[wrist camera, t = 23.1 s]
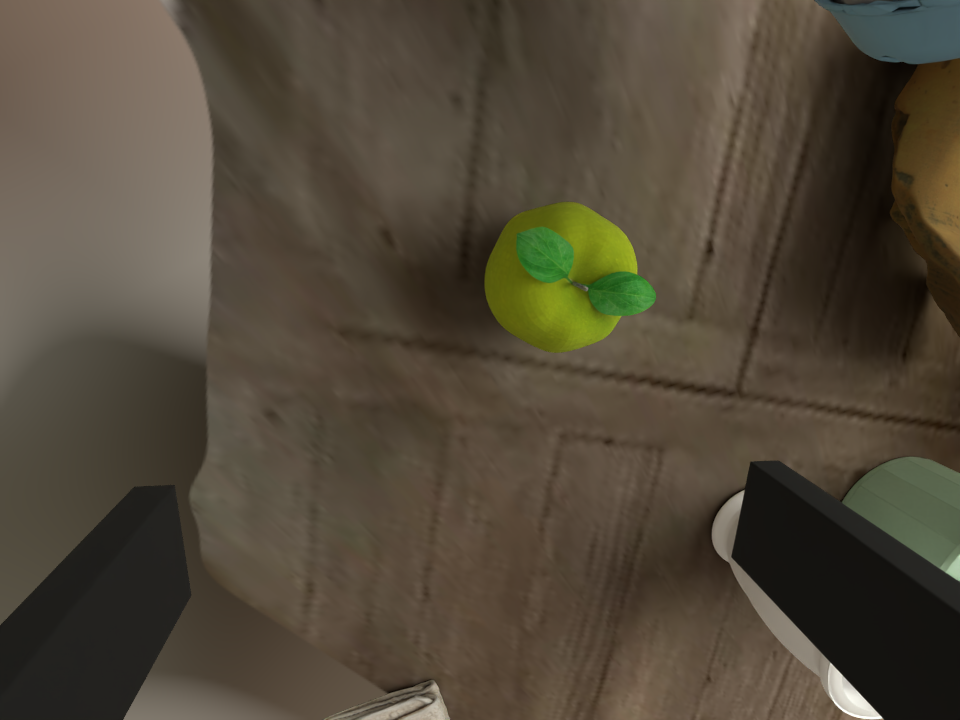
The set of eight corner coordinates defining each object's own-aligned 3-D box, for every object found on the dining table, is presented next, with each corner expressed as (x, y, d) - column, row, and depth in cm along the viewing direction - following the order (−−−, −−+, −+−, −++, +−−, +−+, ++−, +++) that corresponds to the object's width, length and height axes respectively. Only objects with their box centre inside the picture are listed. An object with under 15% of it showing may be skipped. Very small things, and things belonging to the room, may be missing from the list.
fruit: (516, 178, 35) (558, 166, 26) (621, 245, 38) (694, 257, 28) (452, 293, 37) (470, 322, 27) (557, 350, 39) (606, 395, 30)
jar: (676, 536, 46) (798, 682, 32) (756, 452, 45) (921, 566, 31) (747, 589, 49) (887, 743, 35) (824, 512, 48) (1002, 640, 34)
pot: (827, 484, 47) (927, 549, 38) (949, 437, 48) (1077, 491, 39) (838, 587, 51) (932, 668, 42) (951, 543, 51) (1067, 614, 42)
